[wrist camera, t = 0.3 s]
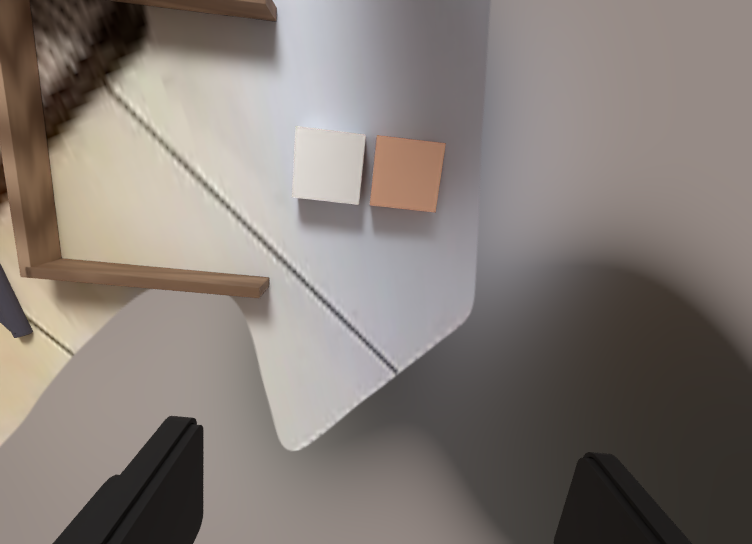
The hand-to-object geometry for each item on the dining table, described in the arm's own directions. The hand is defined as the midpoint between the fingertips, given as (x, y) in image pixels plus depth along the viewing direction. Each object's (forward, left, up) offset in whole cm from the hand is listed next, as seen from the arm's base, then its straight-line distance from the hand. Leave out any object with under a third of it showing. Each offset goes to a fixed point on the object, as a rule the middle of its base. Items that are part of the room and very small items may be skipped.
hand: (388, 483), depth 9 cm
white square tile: (-7, -5, -30) cm, 31 cm away
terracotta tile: (-7, +2, -30) cm, 31 cm away
